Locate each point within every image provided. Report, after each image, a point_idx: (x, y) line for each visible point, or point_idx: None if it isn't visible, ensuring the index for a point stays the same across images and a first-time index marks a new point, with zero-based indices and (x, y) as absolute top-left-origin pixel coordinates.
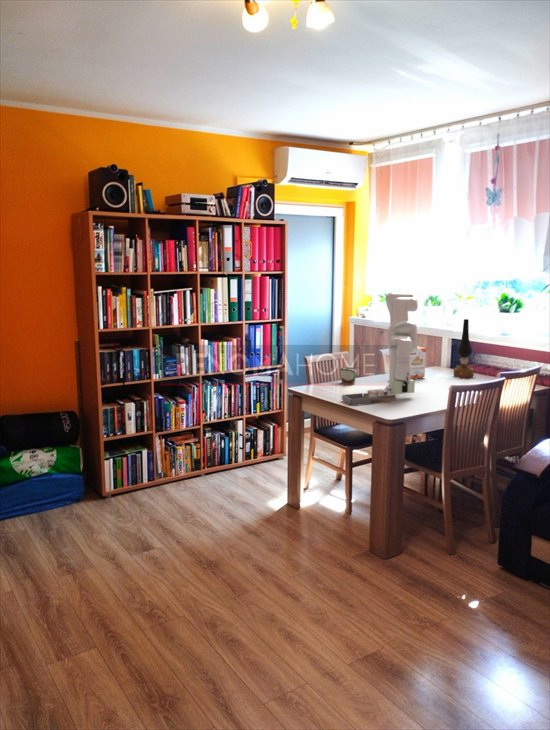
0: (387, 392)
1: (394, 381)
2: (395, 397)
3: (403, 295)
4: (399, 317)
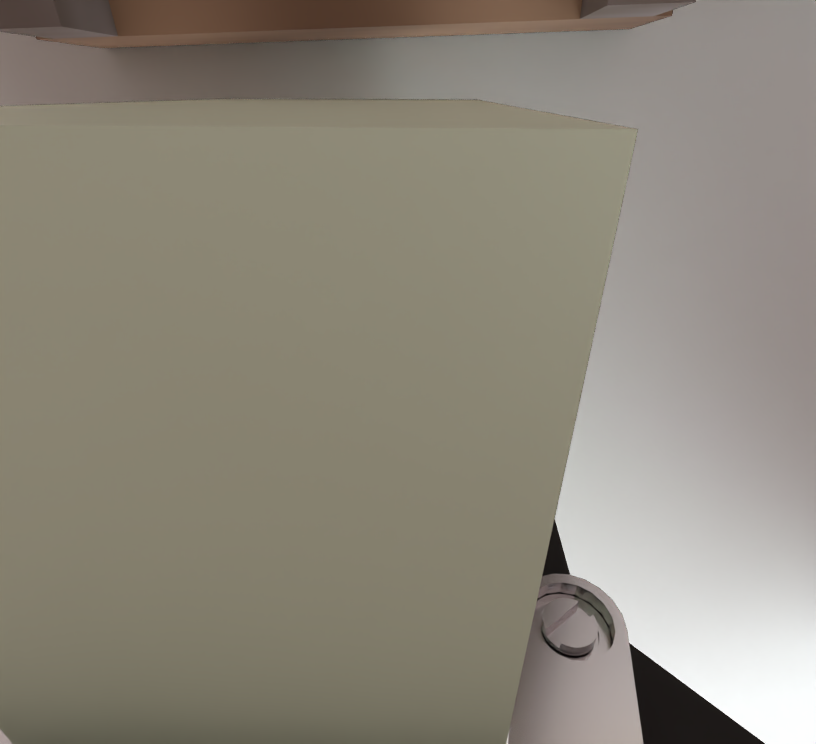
0: (603, 2)
1: (18, 350)
2: (42, 33)
3: None
4: None
